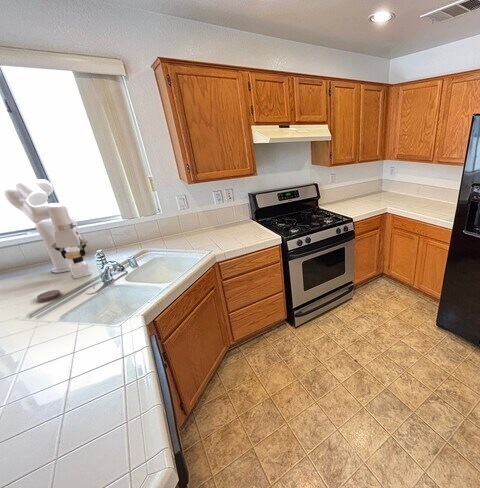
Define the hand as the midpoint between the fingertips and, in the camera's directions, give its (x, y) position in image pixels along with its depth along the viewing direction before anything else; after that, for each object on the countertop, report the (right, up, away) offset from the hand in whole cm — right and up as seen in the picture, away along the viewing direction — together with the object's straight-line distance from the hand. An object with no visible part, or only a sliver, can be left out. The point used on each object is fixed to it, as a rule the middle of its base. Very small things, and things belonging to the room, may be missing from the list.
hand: (74, 256), depth 151 cm
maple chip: (0, 0, 0) cm, 0 cm away
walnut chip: (+6, -20, -19) cm, 28 cm away
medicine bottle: (0, -11, +4) cm, 12 cm away
